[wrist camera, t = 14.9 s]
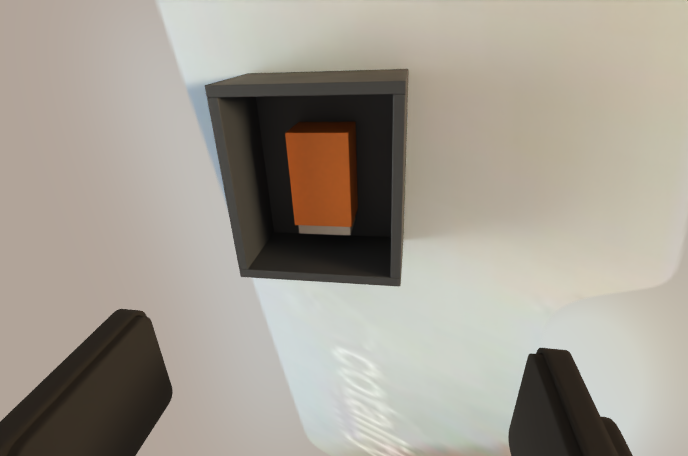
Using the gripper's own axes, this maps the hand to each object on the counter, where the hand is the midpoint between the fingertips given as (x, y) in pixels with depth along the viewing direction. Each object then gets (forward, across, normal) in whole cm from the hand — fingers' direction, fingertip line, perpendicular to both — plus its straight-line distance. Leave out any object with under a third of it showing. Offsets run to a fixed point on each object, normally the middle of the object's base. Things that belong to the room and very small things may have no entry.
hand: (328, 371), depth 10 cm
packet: (+26, +5, +4) cm, 27 cm away
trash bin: (+27, +5, +4) cm, 28 cm away
